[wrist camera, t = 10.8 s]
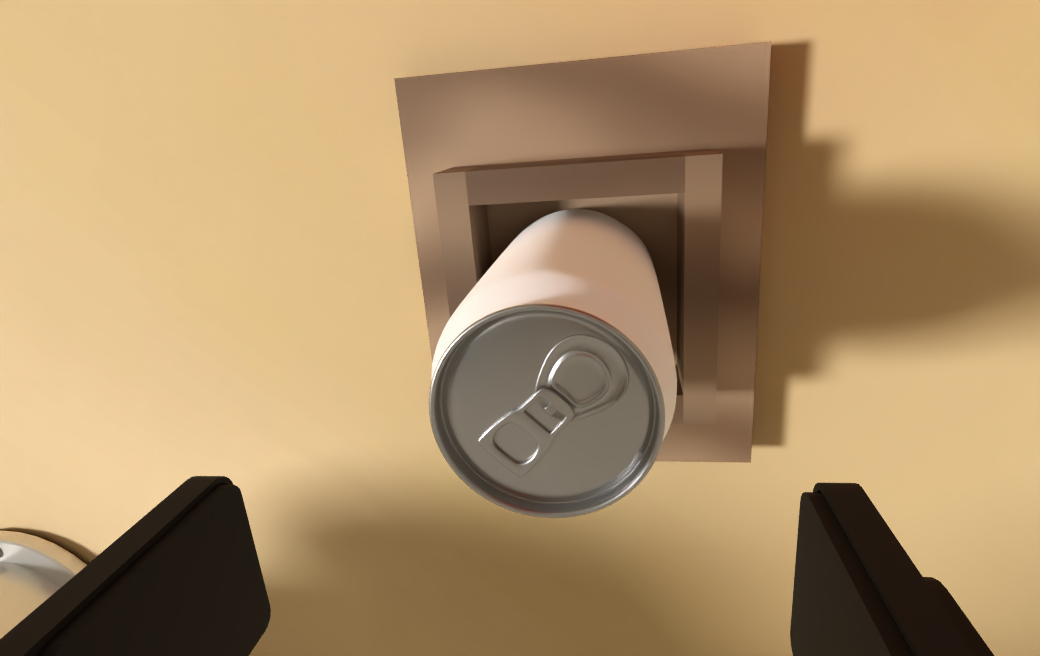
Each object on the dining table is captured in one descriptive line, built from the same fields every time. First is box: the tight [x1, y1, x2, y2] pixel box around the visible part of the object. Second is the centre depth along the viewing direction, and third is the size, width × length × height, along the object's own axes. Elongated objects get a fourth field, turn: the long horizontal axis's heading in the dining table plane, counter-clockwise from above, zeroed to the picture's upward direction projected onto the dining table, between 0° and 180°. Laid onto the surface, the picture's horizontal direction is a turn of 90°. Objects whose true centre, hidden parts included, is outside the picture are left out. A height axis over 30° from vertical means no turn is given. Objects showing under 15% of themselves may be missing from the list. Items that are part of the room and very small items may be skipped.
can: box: [429, 209, 677, 518], centre depth 20 cm, size 6×6×12 cm
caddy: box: [395, 42, 771, 462], centre depth 25 cm, size 17×14×4 cm
